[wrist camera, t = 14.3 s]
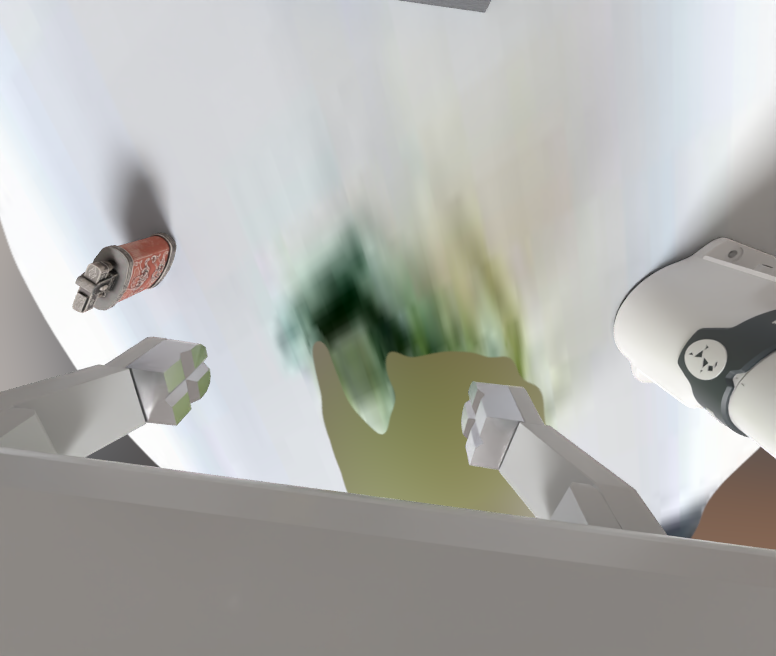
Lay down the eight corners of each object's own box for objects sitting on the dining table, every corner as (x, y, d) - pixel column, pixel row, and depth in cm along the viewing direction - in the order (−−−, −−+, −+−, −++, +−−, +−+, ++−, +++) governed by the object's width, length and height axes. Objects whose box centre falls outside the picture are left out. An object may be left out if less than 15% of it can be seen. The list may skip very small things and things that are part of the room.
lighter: (155, 225, 37) (76, 245, 28) (182, 245, 38) (113, 269, 29) (132, 275, 40) (54, 306, 31) (157, 292, 41) (88, 327, 32)
